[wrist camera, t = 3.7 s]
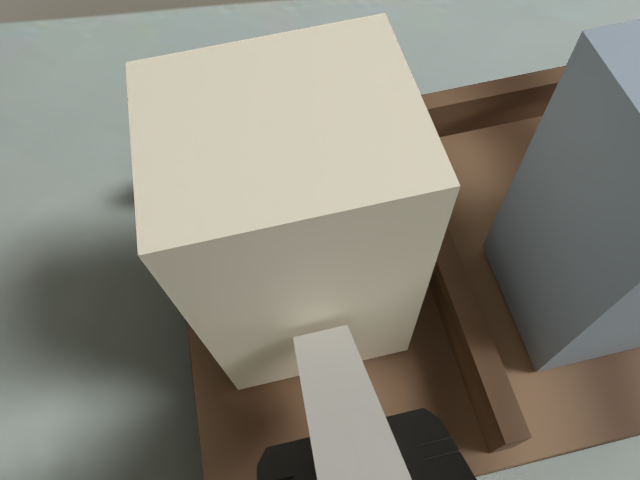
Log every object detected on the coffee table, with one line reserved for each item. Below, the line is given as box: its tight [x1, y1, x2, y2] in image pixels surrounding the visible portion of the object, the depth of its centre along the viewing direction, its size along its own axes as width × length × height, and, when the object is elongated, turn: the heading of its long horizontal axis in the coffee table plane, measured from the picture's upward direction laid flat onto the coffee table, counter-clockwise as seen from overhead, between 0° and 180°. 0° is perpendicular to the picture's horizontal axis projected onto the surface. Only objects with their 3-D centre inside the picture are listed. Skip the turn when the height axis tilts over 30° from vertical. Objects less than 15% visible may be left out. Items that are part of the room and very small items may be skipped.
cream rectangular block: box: [125, 13, 460, 390], centre depth 15 cm, size 6×5×10 cm
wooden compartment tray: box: [187, 66, 640, 480], centre depth 20 cm, size 29×14×4 cm, turn 103°
